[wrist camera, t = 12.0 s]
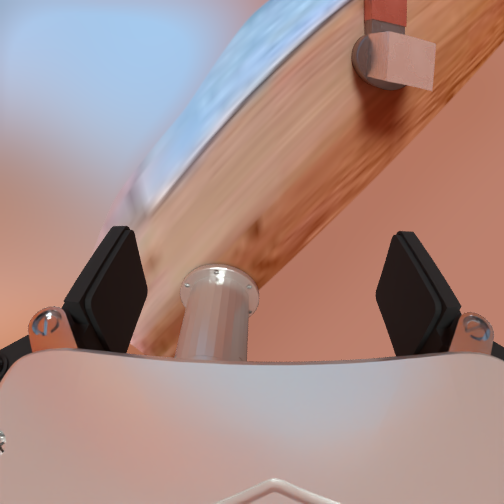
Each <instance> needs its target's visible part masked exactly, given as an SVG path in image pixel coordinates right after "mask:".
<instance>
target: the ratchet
mask: <svg viewBox="0 0 504 504" xmlns="http://www.w3.org/2000/svg"><path fill="white" fill-rule="evenodd" d="M406 20H407V0H365V12H364V21H365V35H363V36H362V37H360V38H359V39H358V40H357V42H356V43H355V45H354V47H353V50H352V63H353V66H354V69H355V71H356V72H357V74H358V75H359V76H360V78H361V79H363V80H364V81H365V82H367V83H368V84H370V85H373V86H375V87H378V88H381V89H385V90H397V89H400V88H402V87H404V86H406V85H404V84H399V83H394V82H388V81H384V80H380V79H376V78H372V77H368V76H366V73H367V56H368V34H372V33H379V32H387V31H391V32H395V33H399V34H403V35H405V27H406Z"/></svg>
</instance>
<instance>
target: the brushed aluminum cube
mask: <svg viewBox="0 0 504 504" xmlns="http://www.w3.org/2000/svg"><path fill="white" fill-rule="evenodd" d="M435 50H436V44H435V43H432V42H429V41H425V40H422V39H418V38H415V37H411V36H407V35H403V34H399V33H395V32H391V31H387V32H379V33H372V34H368V56H367V73H366V76H368V77H372V78H376V79H380V80H384V81H388V82H394V83H399V84H404V85H409V86H413V87H418V88H422V89H426V90H430V91H432V86H433V76H434V65H435Z"/></svg>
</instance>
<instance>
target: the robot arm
mask: <svg viewBox="0 0 504 504" xmlns="http://www.w3.org/2000/svg"><path fill="white" fill-rule="evenodd" d="M147 291H148V290H147V284H146V280H145V276H144V272H143V268H142V264H141V260H140V256H139V251H138V247H137V243H136V238H135V234H134V231H133V230H130V229H129V227H128V226H113V227H112V228H111V229H110V231H109V232H108V234H107V235H106V236H105V238H104V239H103V241H102V242H101V244H100V245H99V246H98V248H97V249H96V251H95V252H94V254H93V255H92V257H91V258H90V260H89V261H88V263H87V264H86V266H85V268H84V269H83V271H82V272H81V274H80V275H79V277H78V278H77V280H76V282H75V283H74V285H73V287H72V288H71V290H70V291H69V293H68V295H67V297H66V298H65V300H64V302H65V303H64V305H63V307H62V308H60V307H55V306H54V307H47V308H44V309H42V310H40V311H38V312H37V313H36V314H35V315H34V316H33V317H32V319H31V320H30V322H29V325H28V333H29V335H27V336H25V337H23V338H21V339H20V340H18V341H16V342H14V343H12V344H10V345H9V346H7V347H5V348H3V349H1V350H0V504H504V347H502V346H501V345H499V344H497V343H496V342H494V341H493V339H494V331H493V328H492V326H491V325H490V323H489V322H488V321H487V320H486V319H485V318H484V317H482V316H481V315H479V314H476V313H472V312H467V313H464V314H463V315H462V314H461V313H460V308H461V305H460V303H459V302H458V300H457V298H456V296H455V295H454V293H453V291H452V290H451V288H450V286H449V285H448V283H447V282H446V280H445V278H444V277H443V275H442V274H441V272H440V270H439V269H438V268H437V266H436V264H435V263H434V261H433V260H432V258H431V257H430V255H429V254H428V252H427V251H426V250H425V248H424V247H423V245H422V243H421V242H420V241H419V239H418V238H417V236H416V235H415V234H414V232H405V231H399V232H398V233H397V234H396V235H394V236H393V237H392V240H391V243H390V247H389V250H388V254H387V257H386V261H385V264H384V267H383V271H382V274H381V277H380V280H379V283H378V287H377V290H376V301H377V303H378V306H379V309H380V311H381V314H382V317H383V320H384V322H385V325H386V328H387V330H388V334H389V337H390V339H391V342H392V345H393V348H394V351H395V354H396V357H385V358H373V359H358V360H339V361H314V362H313V361H311V362H247V341H248V318H249V317H250V316H251V315H252V314H253V313H254V312H255V311H256V309H257V307H258V304H259V291H258V287H257V286H256V284H255V282H254V281H253V280H252V278H251V277H250V276H248V275H247V274H246V273H245V272H243V271H241V270H239V269H237V268H234V267H232V266H228V265H222V264H211V265H205V266H201V267H198V268H196V269H194V270H193V271H191V272H190V273H189V274H188V275H187V276H186V277H185V278H184V280H183V282H182V286H181V289H180V296H181V301H182V303H183V305H184V306H185V308H186V310H185V314H184V319H183V323H182V327H181V331H180V336H179V340H178V344H177V349H176V353H175V358H169V357H157V356H147V355H136V354H126V352H127V350H128V347H129V344H130V341H131V338H132V335H133V332H134V330H135V327H136V324H137V321H138V319H139V316H140V313H141V310H142V308H143V305H144V302H145V300H146V297H147Z"/></svg>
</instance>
